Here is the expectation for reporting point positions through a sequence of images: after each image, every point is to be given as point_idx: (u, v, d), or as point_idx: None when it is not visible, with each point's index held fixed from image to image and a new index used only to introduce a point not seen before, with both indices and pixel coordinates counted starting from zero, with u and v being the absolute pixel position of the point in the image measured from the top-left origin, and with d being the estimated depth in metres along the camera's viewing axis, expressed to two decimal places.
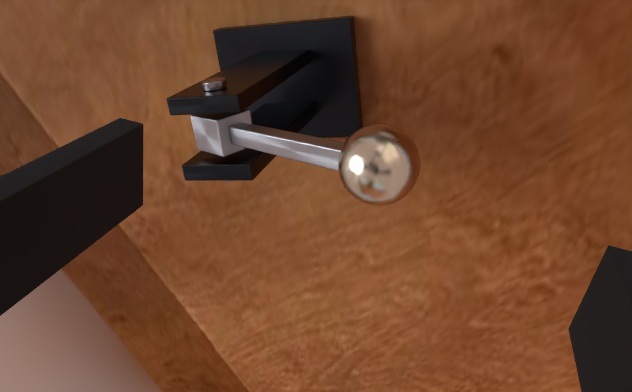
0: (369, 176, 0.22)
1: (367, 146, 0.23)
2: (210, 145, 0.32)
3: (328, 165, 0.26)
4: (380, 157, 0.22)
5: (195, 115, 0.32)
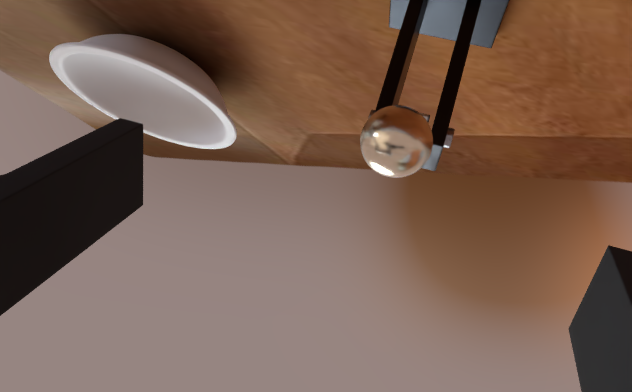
0: (383, 172, 0.27)
1: (364, 158, 0.27)
2: None
3: None
4: (371, 160, 0.27)
5: None
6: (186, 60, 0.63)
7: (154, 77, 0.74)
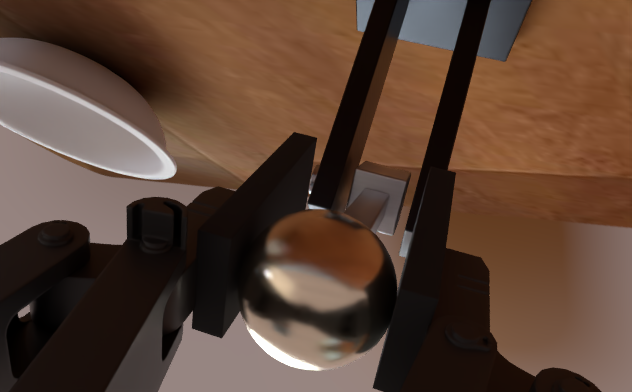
0: (286, 362, 0.12)
1: None
2: None
3: None
4: (255, 338, 0.12)
5: None
6: (102, 72, 0.48)
7: None
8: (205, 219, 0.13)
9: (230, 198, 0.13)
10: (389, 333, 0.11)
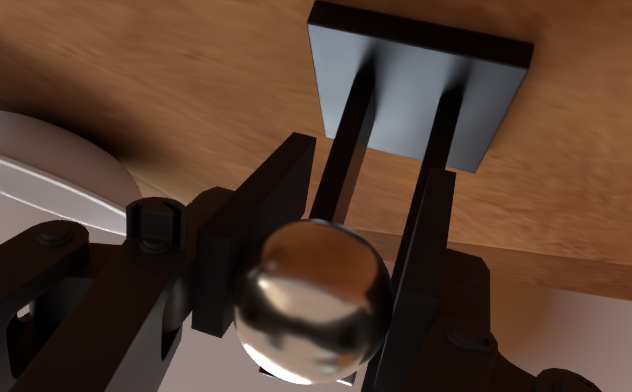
0: (277, 364, 0.11)
1: (236, 329, 0.12)
2: (339, 381, 0.23)
3: None
4: (249, 328, 0.11)
5: None
6: (77, 146, 0.48)
7: None
8: (204, 219, 0.13)
9: (229, 198, 0.13)
10: (390, 333, 0.11)
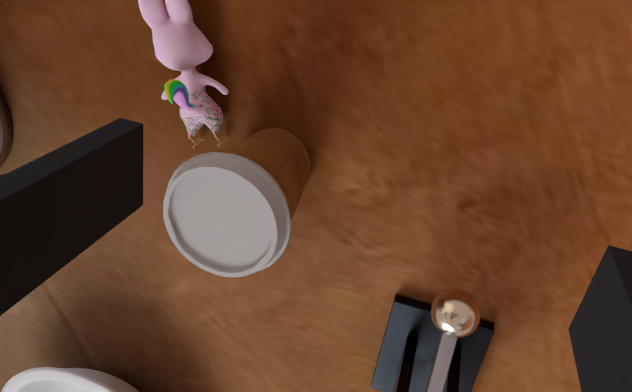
0: (457, 304, 0.39)
1: (440, 304, 0.40)
2: None
3: (451, 351, 0.40)
4: (448, 297, 0.40)
5: None
6: None
7: None
8: None
9: None
10: None
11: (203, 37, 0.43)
